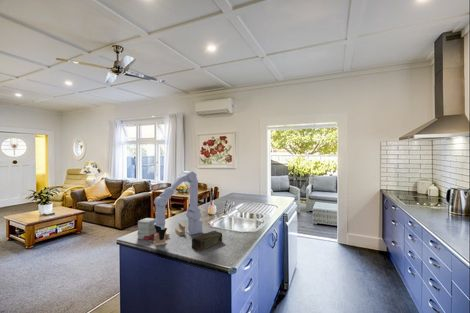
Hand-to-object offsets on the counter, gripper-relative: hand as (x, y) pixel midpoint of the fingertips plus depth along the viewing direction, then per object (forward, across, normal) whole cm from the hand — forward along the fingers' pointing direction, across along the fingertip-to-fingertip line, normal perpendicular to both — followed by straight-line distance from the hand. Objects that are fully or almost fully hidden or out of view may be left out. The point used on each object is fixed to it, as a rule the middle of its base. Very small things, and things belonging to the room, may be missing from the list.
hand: (160, 237), depth 140 cm
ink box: (+3, -13, -6) cm, 14 cm away
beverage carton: (+3, +18, +24) cm, 30 cm away
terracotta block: (+2, 0, 0) cm, 2 cm away
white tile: (+3, 0, 0) cm, 3 cm away
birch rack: (+3, -10, +10) cm, 15 cm away
